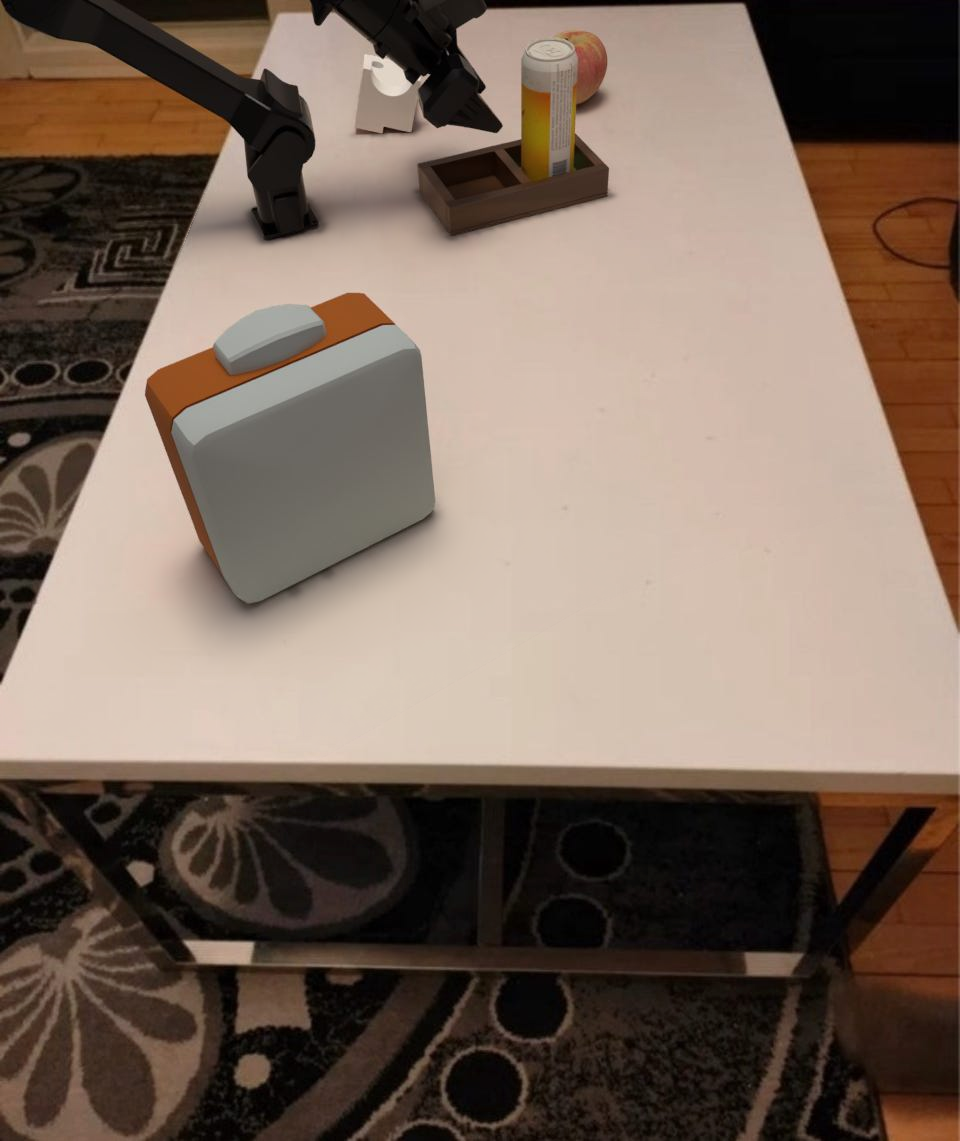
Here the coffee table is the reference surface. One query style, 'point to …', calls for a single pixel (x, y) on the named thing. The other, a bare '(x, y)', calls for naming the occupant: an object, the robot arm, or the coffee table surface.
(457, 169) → the tray
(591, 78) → the apple
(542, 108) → the beer can
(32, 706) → the coffee table surface
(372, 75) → the bracket
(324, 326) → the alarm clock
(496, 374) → the coffee table surface
